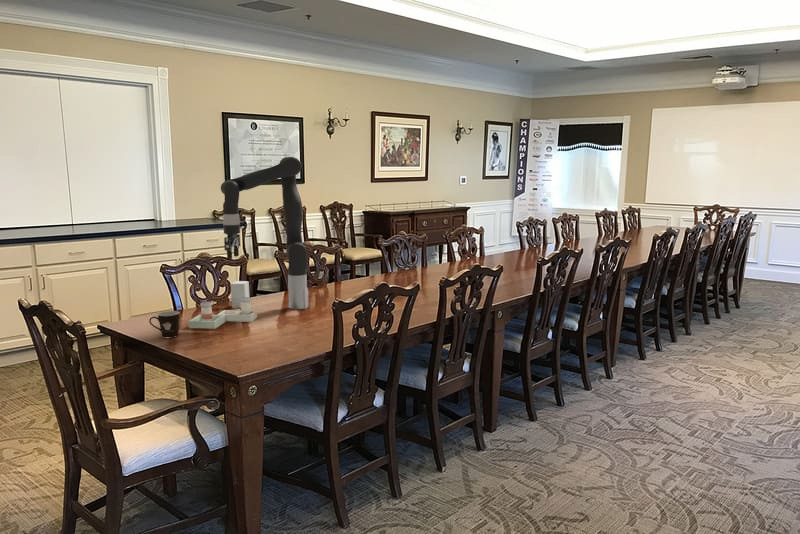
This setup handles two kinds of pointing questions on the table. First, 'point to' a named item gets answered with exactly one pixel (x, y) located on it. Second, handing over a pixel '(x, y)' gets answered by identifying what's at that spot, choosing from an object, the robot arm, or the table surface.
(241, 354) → the table surface
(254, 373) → the table surface
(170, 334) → the coffee mug
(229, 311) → the fuse block
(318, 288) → the table surface
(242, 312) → the fuse
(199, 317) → the tray
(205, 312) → the marked fuse
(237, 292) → the supplement box
